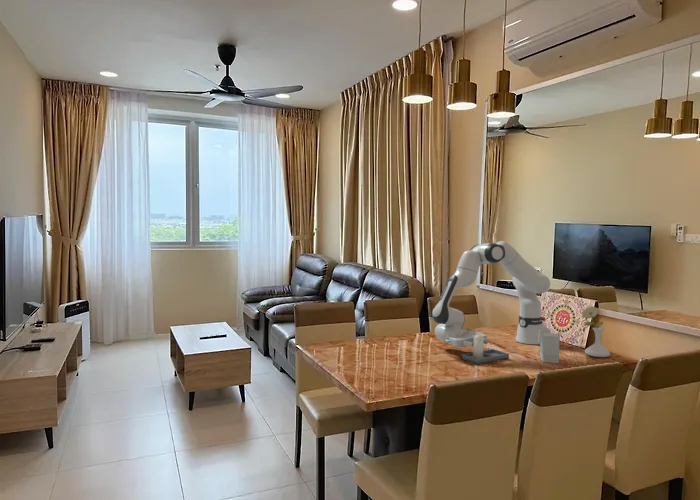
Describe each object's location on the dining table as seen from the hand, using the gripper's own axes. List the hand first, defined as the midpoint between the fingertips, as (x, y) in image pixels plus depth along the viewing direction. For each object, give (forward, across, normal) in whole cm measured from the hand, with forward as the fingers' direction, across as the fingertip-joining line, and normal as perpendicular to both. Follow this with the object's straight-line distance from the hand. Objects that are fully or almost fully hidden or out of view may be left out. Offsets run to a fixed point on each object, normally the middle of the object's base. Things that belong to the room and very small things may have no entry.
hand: (479, 343), depth 229 cm
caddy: (-1, +5, +8) cm, 10 cm away
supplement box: (+16, +30, +9) cm, 35 cm away
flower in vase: (+22, +57, +9) cm, 62 cm away
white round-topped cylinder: (-1, 0, +7) cm, 7 cm away
